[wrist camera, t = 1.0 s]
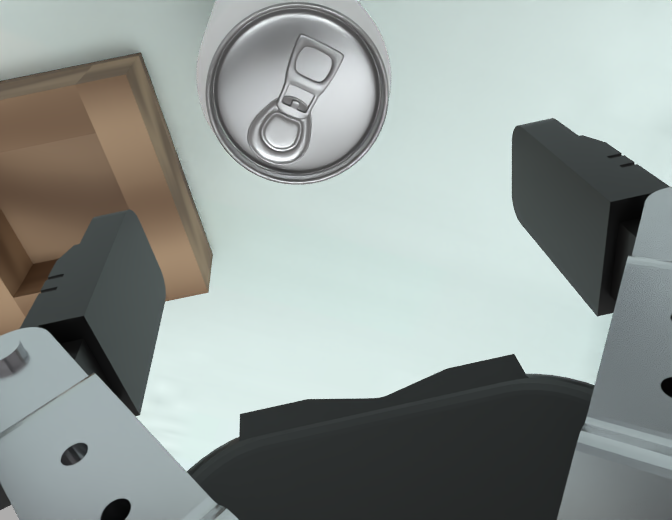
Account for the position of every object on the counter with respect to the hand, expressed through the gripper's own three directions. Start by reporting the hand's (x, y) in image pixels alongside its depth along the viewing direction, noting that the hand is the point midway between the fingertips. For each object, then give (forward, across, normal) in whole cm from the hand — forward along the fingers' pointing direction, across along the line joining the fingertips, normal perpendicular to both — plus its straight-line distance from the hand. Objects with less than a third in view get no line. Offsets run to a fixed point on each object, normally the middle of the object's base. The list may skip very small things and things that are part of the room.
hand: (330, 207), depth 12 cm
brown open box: (+19, +13, +5) cm, 23 cm away
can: (+19, 0, 0) cm, 19 cm away
